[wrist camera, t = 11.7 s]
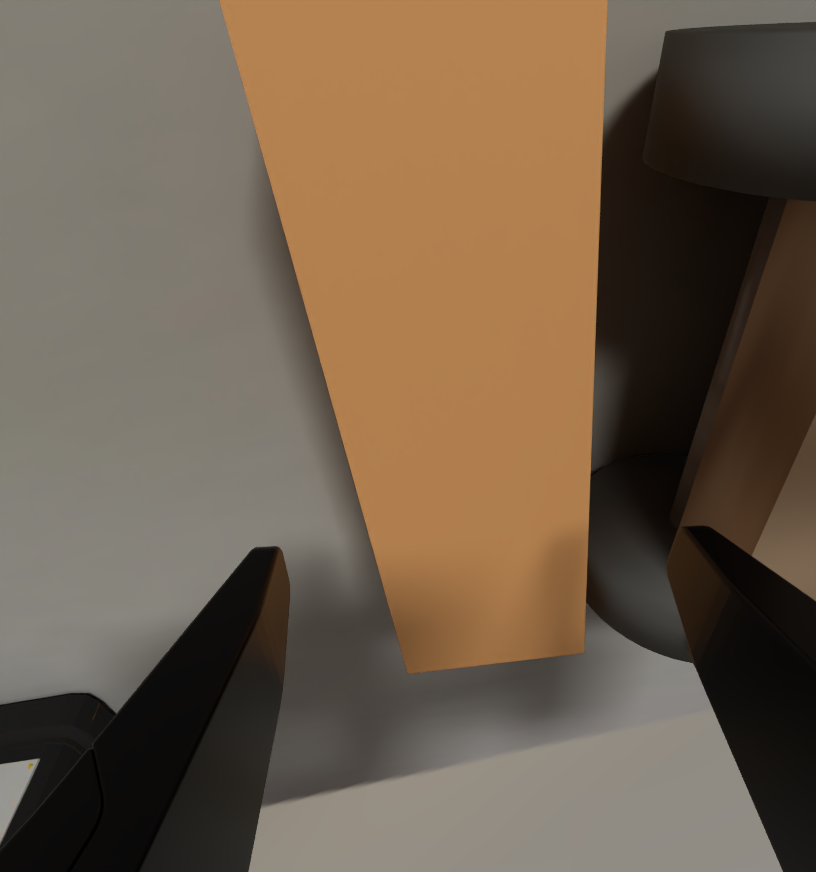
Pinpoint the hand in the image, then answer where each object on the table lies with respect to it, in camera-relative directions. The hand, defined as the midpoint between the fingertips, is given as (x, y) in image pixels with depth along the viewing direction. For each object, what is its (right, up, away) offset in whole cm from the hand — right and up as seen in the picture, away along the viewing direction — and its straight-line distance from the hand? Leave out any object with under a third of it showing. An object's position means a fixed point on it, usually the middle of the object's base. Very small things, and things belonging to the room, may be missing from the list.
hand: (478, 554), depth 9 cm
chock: (0, +5, +7) cm, 8 cm away
